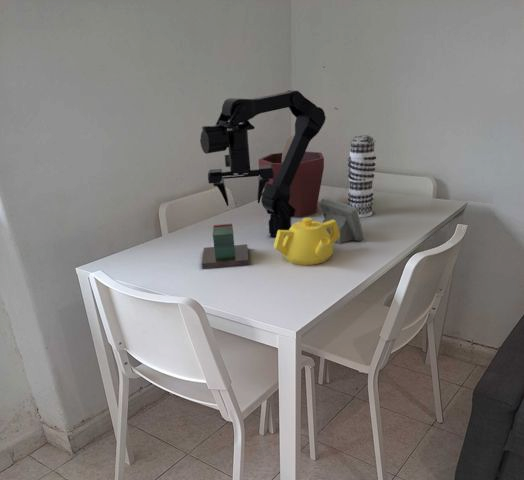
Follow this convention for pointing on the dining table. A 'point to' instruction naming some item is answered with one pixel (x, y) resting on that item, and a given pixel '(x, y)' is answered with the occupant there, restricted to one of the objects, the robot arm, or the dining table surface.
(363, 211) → the black white tall cylinder
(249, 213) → the dining table surface
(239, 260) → the brown square board
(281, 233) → the teapot
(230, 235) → the green box
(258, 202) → the robot arm
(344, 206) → the digital clock
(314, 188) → the bucket
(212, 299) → the dining table surface
